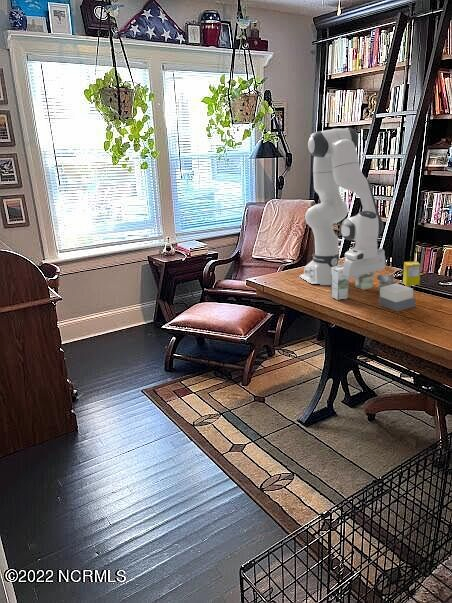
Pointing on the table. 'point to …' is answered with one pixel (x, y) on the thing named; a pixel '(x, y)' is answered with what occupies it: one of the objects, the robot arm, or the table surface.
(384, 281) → the elephant statuette
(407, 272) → the supplement box
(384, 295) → the tower top block
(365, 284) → the sage cube
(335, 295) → the syrup box
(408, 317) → the table surface
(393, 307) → the tower base block
